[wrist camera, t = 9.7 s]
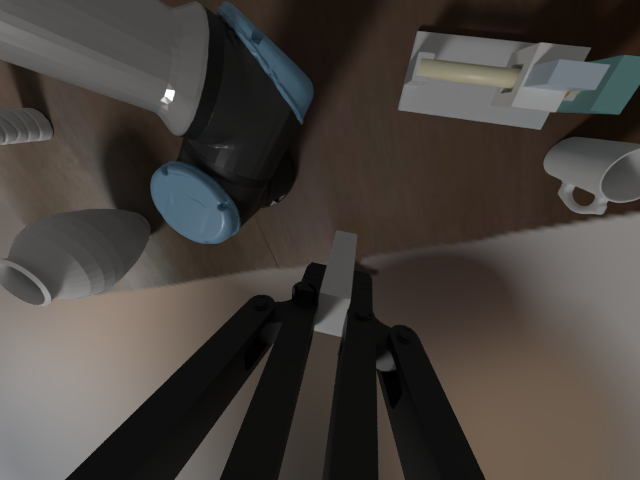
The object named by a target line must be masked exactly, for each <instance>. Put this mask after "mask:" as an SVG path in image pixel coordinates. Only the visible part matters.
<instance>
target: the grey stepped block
mask: <svg viewBox="0 0 640 480" xmlns="http://www.w3.org/2000/svg"><path fill="white" fill-rule="evenodd" d="M590 49H591V48H589V47H579V46H570V45H560V44H551V43H541V42H540V43H538V44H535V45H532V46H529V47H527V48H524V49H521V50H519V51H516V52H513V53H512V54H511V56H510V59H509V61H508V64H507V66H506V68H514V69H522V70H521V72H520V74H519V76H518V78H517V81H516V83H515V85H514V87H513V89H509V88H501V87H497V90H496V92H495V94H494V97H493V99H492V101H491V104H490V106H492V107H500V108H507V109H515V110H523V111H537V112H556V111H557V109H558V107H559V106H560V104H561V102H562V100H563V98H564V97H565V95H566V93H567V92H572V91H587V90H596V88H597V86H598V85H599V83H600V81H601V80H602V78H603V76H604V75H605V73H606V71H607V70H608V68H609V66H610V65H608V64H599V63H590V62H584V60H585V59H586V57H587V55H588V53H589V51H590Z"/></svg>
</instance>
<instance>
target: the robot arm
mask: <svg viewBox="0 0 640 480" xmlns="http://www.w3.org/2000/svg"><path fill="white" fill-rule="evenodd" d="M217 14H218V15H216V14H214V13H213V12H211V11H210V10H208V9H207V8H206V7H204V6H203V5H201V4H200V3H198V2H191V3H188V4H185V5H182V6H179V7H176V8H172V7H168V6H167V5H165V4H163V3H162V2H160V1H159V0H0V60H3V61H6V62H9V63H12V64H15V65H18V66H21V67H24V68H27V69H30V70H32V71H35V72H38V73H41V74H44V75H47V76H50V77H53V78H56V79H59V80H62V81H65V82H68V83H71V84H74V85H77V86H80V87H82V88H85V89H88V90H91V91H94V92H97V93H100V94H103V95H106V96H109V97H112V98H115V99H118V100H121V101H124V102H127V103H129V104H132V105H135V106H138V107H141V108H144V109H147V110H150V111H153V112H155V113H156V114H158V115H159V116H160V118H161V119H162V120H163V122H164V123H165V124H166V126H167V127H168V128H169V130H170V131H171V133H173V134H174V135H177V136H180V137H183V138H184V139H183V142H182V145H181V149H180V152H179V156H178V158H177V160H176V161H171V162H167V163H165V164H163V165H162V167H160V168H159V169H157V170H156V171H155V173H154V174H153V176H152V179H151V185H150V188H151V195H152V199H153V201H154V204H155V206H156V208H157V209H158V211H159V212H160V213H161V214H162V216H163V218H164V219H165V221H166V222H167V223H168V224H169V225H170V226H171V227H172V228H173V229H175V230H176V231H177V232H179V233H180V234H181V235H183V236H185V237H187V238H188V239H191V240H193V241H196V242H199V243H204V244H209V243H213V244H216V243H220V242H223V241H225V240H226V239H228V238H229V237H230V236H232V235H235V234H236V233H237V232H238V231H239V229H240V227H241V226H243V225H244V224H245V223H246V222H247V221H248V220H249V219H250V218H251V217H252V216H253V215H254V214H255V213H256V212H257V211H258V210H259V209H260V208H264V207H270V206H273V205H275V204H277V203H279V202H280V201H281V200H282V199H284V197H285V196H286V195H287V194H288V193H289V191H290V190H291V188H292V185H293V182H294V176H295V171H294V164H293V161H292V158H291V155H290V153H289V152H288V150H287V148H288V146H289V144H290V142H291V140H292V138H293V137H294V135H295V133H296V131H297V129H298V127H299V125H302V124H303V118H304V116H305V114H306V112H307V110H308V108H309V106H310V103H311V101H312V99H313V95H314V90H313V85H312V82H311V80H310V79H309V78H308V76H307V75H306V74H305V73H304V72H303V71H302V70H301V69H300V68H299V67H298V66H297V65H296V64H295V63H294V62H293V61H292V60H291V59H290V58H289V57H288V56H287V55H286V54H285V53H284V52H282V51H281V50H280V49H279V48H278V47H277V46H276V45H275V44H274V43H273V42H272V41H271V40H270V39H269V38H268V37H267V36H265V35H264V34H263V33H262V32H261V31H260V30H259V29H258V28H257V27H256V26H255V25H254V24H253V23H252V22H251V21H250V20H249V19H248V18H247V17H246V16H244V15H243V14H242V13H241V12H240V11H239V10H238V9H237V8H236V7H235V6H233V5H232V4H231V3H230V2H228V1H224V2H223V3H222V5H221V6H219V7H218V9H217ZM356 242H357V234H353V233H348V232H343V231H337V230H336V234H335V237H334V241H333V245H332V249H331V252H330V256H329V260H328V263H327V265H323V264H318V263H313V262H312V263H311V264H310V265H308V266H307V268H306V271H305V273H304V276H303V278H302V281H301V282H298V283H297V284H295V285H294V286H293V290H292V299H291V300H288V301H284V302H275V301H274V300H273V299H272V298H271V297H270V296H267V295H257V296H254V297H252V298H251V299H250V300H249V301H248V302H247V303H246V304H245V305H244V306H242V307H241V308H240V309H239V310H238V311H237V312H236V314H234V316H232V317H231V318H230V319H229V320H228V321H227V322H226V323H225V324H224V325H223V326H222V327H221V328H220V329H219V330H218V331H217V332H216V333H215V334H214V335H213V336H212V337H211V338H210V339H209V340H208V341H207V342H206V343H205V344H204V345H203V346H202V347H200V348H199V349H198V350H197V351H196V352H195V353H194V354H193V355H192V356H191V357H190V358H189V359H188V360H187V361H186V362H185V363H184V364H183V365H182V366H181V367H180V368H179V369H178V370H177V371H176V372H175V373H174V374H173V375H172V376H171V377H170V378H169V379H168V380H167V381H166V382H165V383H164V384H163V385H162V386H161V387H160V388H159V389H157V391H155V393H153V394H152V395H151V396H150V397H149V398H148V399H147V400H146V401H145V402H144V403H143V404H142V405H141V406H140V407H139V408H138V409H137V410H136V411H135V412H134V413H133V414H132V415H131V416H130V417H129V418H128V419H127V420H126V421H125V422H124V423H123V424H122V425H121V426H120V427H119V428H118V429H117V430H115V432H113V433H112V434H111V435H110V436H109V438H107V439H106V440H105V441H104V442H103V443H102V444H101V445H100V446H99V447H98V448H97V449H96V450H95V451H94V452H93V453H92V454H91V455H90V456H89V457H88V458H87V459H86V460H85V461H84V462H83V463H82V464H81V465H80V466H79V467H78V468H77V469H76V470H75V471H74V472H72V474H70V475H69V477H67V478H66V479H65V480H174V479H175V478H176V476H177V475H178V474H179V472H180V471H181V470H182V468H183V467H184V466H185V464H186V463H187V461H188V460H189V459H190V457H191V456H192V454H193V453H194V452H195V450H196V449H197V448H198V446H199V445H200V444H201V442H202V441H203V439H204V438H205V437H206V435H207V434H208V432H209V431H210V430H211V428H212V427H213V426H214V424H215V423H216V421H217V420H218V419H219V417H220V416H221V415H222V413H223V412H224V410H225V409H226V408H227V406H228V405H229V404H230V402H231V401H232V399H233V398H234V397H235V395H236V394H237V393H238V391H239V390H240V388H241V387H242V386H243V384H244V383H245V381H246V380H247V379H248V377H249V376H250V375H251V373H252V372H253V370H254V369H255V368H256V366H257V365H258V363H259V362H260V361H261V359H262V358H263V357H264V355H265V354H266V353H267V351H268V350H269V348H270V347H271V346H272V344H273V343H274V345H273V348H272V350H271V353H270V355H269V358H268V360H267V363H266V365H265V368H264V370H263V373H262V375H261V378H260V380H259V383H258V385H257V388H256V390H255V393H254V395H253V398H252V400H251V403H250V405H249V408H248V410H247V413H246V415H245V418H244V420H243V423H242V425H241V428H240V430H239V433H238V435H237V438H236V440H235V443H234V445H233V448H232V451H231V453H230V456H229V458H228V460H227V463H226V466H225V468H224V470H223V473H222V475H221V478H220V480H278V477H279V473H280V469H281V465H282V461H283V457H284V452H285V448H286V444H287V440H288V436H289V432H290V428H291V424H292V420H293V416H294V412H295V408H296V403H297V399H298V395H299V391H300V387H301V383H302V379H303V375H304V370H305V366H306V362H307V358H308V354H309V350H310V346H311V342H312V337H313V332H314V331H318V332H322V333H327V334H331V335H335V336H340V337H341V336H342V338H341V343H340V347H339V350H338V354H337V355H338V362H337V371H336V378H335V385H334V394H333V401H332V408H331V416H330V423H329V432H328V439H327V446H326V455H325V462H324V469H323V477H322V480H378V435H377V388H376V387H377V384H376V370H377V374H378V378H379V382H380V385H381V389H382V393H383V397H384V400H385V405H386V408H387V412H388V416H389V420H390V424H391V428H392V431H393V435H394V439H395V443H396V447H397V450H398V454H399V458H400V462H401V466H402V470H403V473H404V477H405V480H485V478H484V475H483V473H482V471H481V469H480V467H479V465H478V463H477V460H476V458H475V456H474V454H473V452H472V450H471V448H470V446H469V443H468V441H467V439H466V437H465V435H464V433H463V431H462V429H461V426H460V424H459V422H458V420H457V418H456V416H455V414H454V412H453V410H452V408H451V405H450V403H449V401H448V399H447V397H446V395H445V392H444V390H443V388H442V386H441V384H440V382H439V380H438V378H437V375H436V373H435V371H434V369H433V367H432V365H431V363H430V361H429V358H428V356H427V354H426V353H425V350H424V348H423V346H422V344H421V341H420V339H419V338H418V336H417V334H416V333H415V332H414V331H413V330H412V329H411V328H409V327H407V326H404V325H395V326H393V327H392V328H391V327H389V326H386V325H384V324H383V323H381V322H380V321H379V320H378V319H376V317H375V316H374V313H373V309H372V278H371V277H370V275H369V273H364V272H359V271H354V262H355V252H356Z"/></svg>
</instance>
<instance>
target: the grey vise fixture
mask: <svg viewBox="0 0 640 480" xmlns="http://www.w3.org/2000/svg"><path fill="white" fill-rule="evenodd" d="M535 44H536V43H527V42H517V41H508V40H498V39H489V38H479V37H470V36H460V35H451V34H441V33H432V32H422V31H418V32H417V33H416V37H415V41H414V45H413V49H412V53H411V57H410V61H409V65H408V69H407V73H406V77H405V81H404V85H403V89H402V93H401V97H400V101H399V105H398V109H397V110H402V111H409V112H417V113H424V114H431V115H438V116H446V117H453V118H460V119H467V120H474V121H482V122H489V123H496V124H503V125H511V126H518V127H525V128H532V129H539V130H541V128H542V126H543V124H544V122H545V120H546V118H547V117H548V115H549V113H550V112H537V111H523V110H515V109H507V108H500V107H492V106H490V104H491V101H492V99H493V97H494V94H495V92H496V90H497V87H501V88H509V89H513V87H514V85H515V83H516V81H517V78H518V76H519V74H520V72H521V70H522V69H514V68H506V66H507V64H508V61H509V59H510V56H511V54H512V53H513V52H516V51H519V50H521V49H524V48H527V47H529V46H532V45H535ZM590 63H599V64H608V65H610V66H609V68H608V70H607V71H606V73H605V75H604V76H603V78H602V80H601V81H600V83H599V85H598V86H597V88H596V90H587V91H572V92H567V93H566V95H565V97H564V98H563V100H562V102H561V104H560V106H559V107H558V109H557V111H556V112H566V113H592V114H618V115H619V114H620V113H621V111H622V110H623V108H624V107H625V105H626V104H627V103H628V101H629V100H630V98H631V97H632V95H633V94H634V92H635V91H636V89H637V88H638V86H639V85H640V57H639V56H629V55H622V56H616V57H611V58H606V59H601V60H596V61H591V62H590Z"/></svg>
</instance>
